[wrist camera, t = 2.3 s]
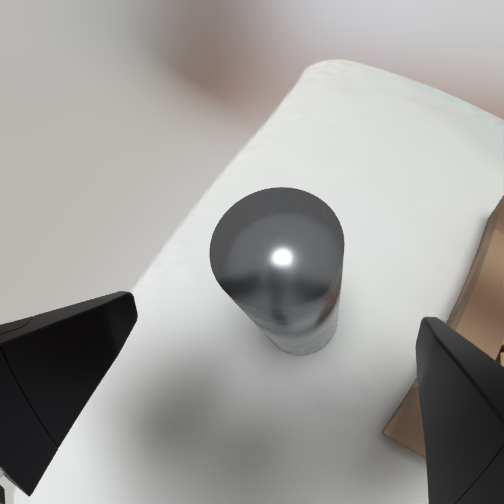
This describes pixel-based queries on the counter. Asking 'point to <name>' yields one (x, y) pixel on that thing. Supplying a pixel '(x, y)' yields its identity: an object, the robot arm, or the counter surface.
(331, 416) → the counter surface
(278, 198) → the steel roller
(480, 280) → the bearing housing
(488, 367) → the robot arm
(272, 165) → the counter surface
